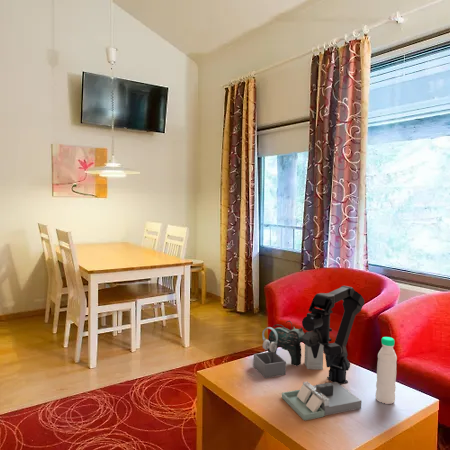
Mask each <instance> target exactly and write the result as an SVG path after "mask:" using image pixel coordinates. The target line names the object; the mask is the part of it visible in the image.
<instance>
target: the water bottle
mask: <svg viewBox="0 0 450 450" xmlns="http://www.w3.org/2000/svg"><path fill="white" fill-rule="evenodd" d="M380 341H381V348H380V350H379V351H378V353H377V364H376V385H375V387H376V391H375V399H376V400H377V401H378V402H380V403H381V402H382V403H381V404H384V403H385V404H386V405H391V404H392V405H393V404H394V402H395V401H396V389H397V387H396V381H397V362H398V361H397V360H398V356H397V354H396V351H395V349H394V347H395V342H396V341H395V338H393V337H391V336H382V338H381V340H380Z"/></svg>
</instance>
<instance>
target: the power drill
mask: <svg viewBox="0 0 450 450" xmlns="http://www.w3.org/2000/svg"><path fill="white" fill-rule="evenodd" d="M288 322H289V323H290V325H293V322H292V321H291V320H286V322H285V324H287V323H288ZM275 326H276V327H275ZM279 326H280V327H279ZM279 326H278V327H277V324H274V325H272V327H271V328H273V329H275V331H276V332H277V334H278V341H277V349H276V351H275V353H276V354H277V351H278V347H280V348H281V349H283V350H285V351H287V352H288V354H289V357H290V365H291V366H295V367H298V366H300V365H302V357H303V356H302V346H301V343H304V342H303V339H302V336H303V335H304V334H305V333H306V332H304V330H303V329H304V328H303V327H300V328H295V326H291V329H289V328H288V327H287V328H286V327H284V325H282V324H279ZM267 340H269V341H270V344H271V342H276V336H275V334H274V332H273V331H272V330H271V331H270V332H269V334H268V339H267ZM267 352H271V351H270V349H268V350H267Z"/></svg>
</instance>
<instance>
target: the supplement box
mask: <svg viewBox="0 0 450 450" xmlns="http://www.w3.org/2000/svg"><path fill="white" fill-rule="evenodd" d="M323 347H324V346H323V345H322V344H320V347H319V351H318V355H317V358H314V357H313V353H312V350H311V347H308V346H307V345H306V344H304V366H305V368H306V369H307V370H323V369H324V353H323V352H324V350H323Z"/></svg>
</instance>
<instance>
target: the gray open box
mask: <svg viewBox="0 0 450 450" xmlns="http://www.w3.org/2000/svg"><path fill="white" fill-rule="evenodd" d="M266 353H267V354H268V355H267V354H266ZM268 356H269V357H270V358H269V357H268ZM270 360H271V362H270ZM269 363H270V364H269ZM253 368H254V369H255V370H256V371H257V372H258V374H260V375H261V376H262V377H263V378H264V379H268V378H272V377H273V378H274V377H279V376H280V377H281V376H286V373H287V371H286V368H287V362H286V360H284V359H283V358H282V357H281V356H280V355H278V354H277V352H276V353H275V352H268V351H266V352H261V353H253Z"/></svg>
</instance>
